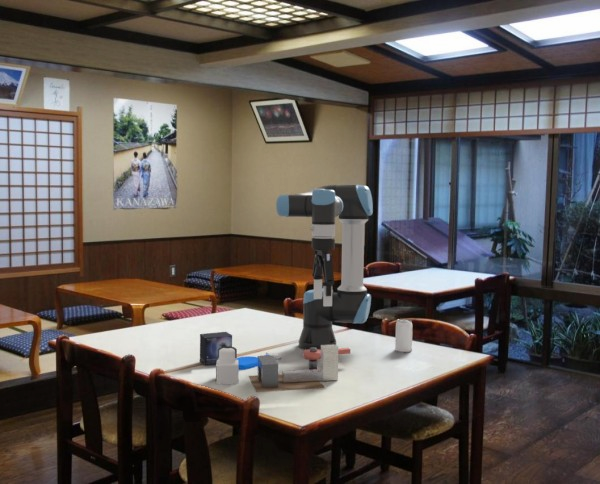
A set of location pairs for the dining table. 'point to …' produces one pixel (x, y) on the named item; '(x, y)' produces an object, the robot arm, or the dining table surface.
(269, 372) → the grey block
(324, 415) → the dining table surface
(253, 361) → the spray bottle
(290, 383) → the walnut board
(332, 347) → the l-shaped bracket
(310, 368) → the post
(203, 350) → the small box
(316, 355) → the red t-shaped bar
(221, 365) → the medicine bottle
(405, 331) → the can
